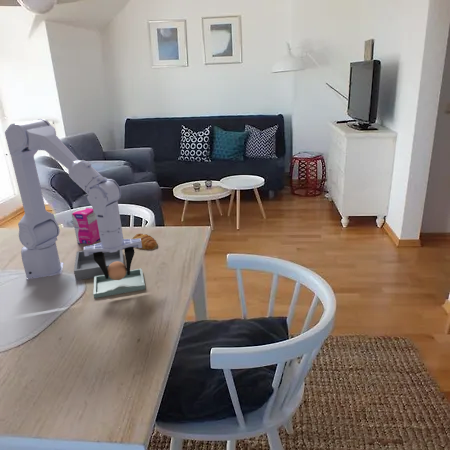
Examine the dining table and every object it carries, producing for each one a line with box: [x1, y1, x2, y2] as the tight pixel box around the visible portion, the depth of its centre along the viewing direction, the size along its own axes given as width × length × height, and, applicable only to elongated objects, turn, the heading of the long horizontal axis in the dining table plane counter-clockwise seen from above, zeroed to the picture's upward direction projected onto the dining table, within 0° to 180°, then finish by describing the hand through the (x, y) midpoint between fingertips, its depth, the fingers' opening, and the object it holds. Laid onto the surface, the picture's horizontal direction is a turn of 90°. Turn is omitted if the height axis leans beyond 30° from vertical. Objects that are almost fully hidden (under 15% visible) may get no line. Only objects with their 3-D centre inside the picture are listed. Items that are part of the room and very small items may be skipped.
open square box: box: [73, 250, 125, 281], centre depth 122 cm, size 13×13×4 cm
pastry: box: [131, 233, 159, 251], centre depth 134 cm, size 9×7×4 cm
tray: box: [92, 268, 146, 299], centre depth 111 cm, size 13×10×2 cm
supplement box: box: [71, 207, 100, 245], centre depth 139 cm, size 6×6×12 cm
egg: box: [107, 261, 127, 280], centre depth 110 cm, size 5×5×5 cm
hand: (117, 275), depth 110 cm, fingers closed on egg, 5 cm apart
